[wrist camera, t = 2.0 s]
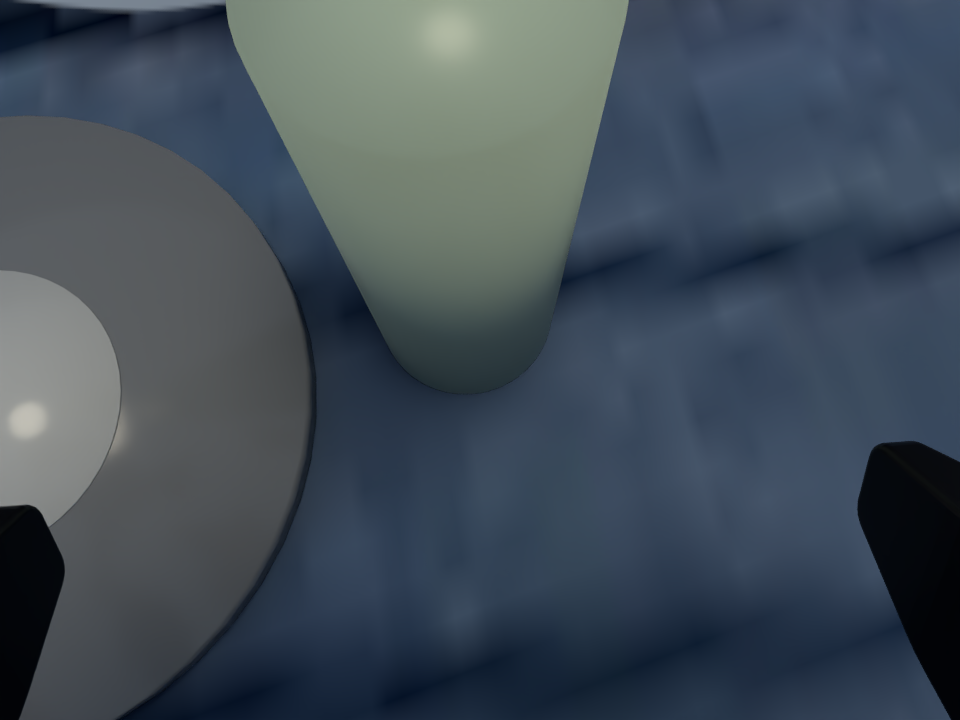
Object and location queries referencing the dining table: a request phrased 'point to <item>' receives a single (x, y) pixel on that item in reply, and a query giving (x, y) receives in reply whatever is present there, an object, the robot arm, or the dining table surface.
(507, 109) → the pillar candle
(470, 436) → the dining table surface
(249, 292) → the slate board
